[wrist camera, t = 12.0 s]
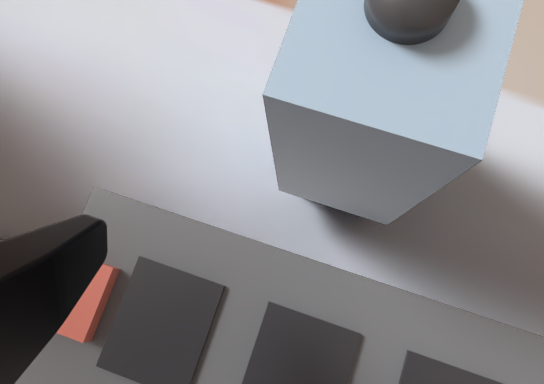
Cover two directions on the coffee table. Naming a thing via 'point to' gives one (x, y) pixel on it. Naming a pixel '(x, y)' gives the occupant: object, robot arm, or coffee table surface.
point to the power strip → (260, 317)
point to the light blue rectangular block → (385, 98)
